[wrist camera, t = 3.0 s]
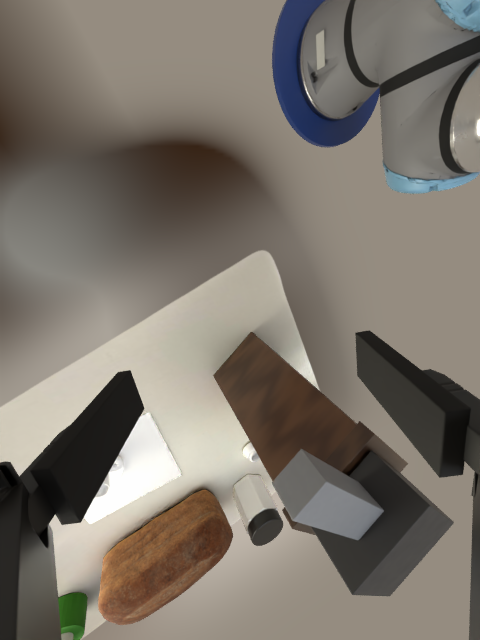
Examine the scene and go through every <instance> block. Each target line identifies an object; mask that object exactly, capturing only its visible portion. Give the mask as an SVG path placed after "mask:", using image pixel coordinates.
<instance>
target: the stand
mask: <svg viewBox="0 0 480 640" xmlns="http://www.w3.org/2000/svg"><path fill="white" fill-rule="evenodd" d="M213 376H214V378H215V380H216V381H217V383H218V385H219V387H220V388H221V390H222V392H223V394H224V396H225V397H226V399H227V401H228V403H229V404H230V406H231V408H232V410H233V412H234V413H235V415H236V417H237V419H238V420H239V422H240V424H241V426H242V427H243V429H244V431H245V433H246V435H247V436H248V438H249V440H250V442H251V443H252V445H253V447H254V449H255V451H256V452H257V454H258V456H259V458H260V459H261V461H262V463H263V465H264V467H265V468H266V470H267V472H268V474H269V475H270V477H271V479H272V481H274V480H275V478H276V477H277V476H278V475H279V474H280V473H281V471H282V470H283V469H284V468H285V467H286V466H287V465H288V463H289V462H290V461H291V460H292V459H293V458H294V457H295V455H296V454H297V453H298V452H299V451H300V450H301V449H303V450H304V451H306V452H308V453H309V454H311V455H313V456H315V457H316V458H318V459H320V460H321V461H323V462H325V463H327V464H328V465H330V466H332V467H334V468H335V469H337V470H339V471H340V472H342V473H344V474H346V475H347V476H350V475H351V473H352V472H353V471H354V470H355V469H356V468H357V467H358V465H359V464H360V463H361V462H362V461H363V460H364V459H365V457H366V456H367V455H368V454H369V453H370V452H371V451H373V452H374V453H375V454H377V455H378V456H379V457H381V458H382V459H383V460H384V461H386V462H387V463H388V464H389V465H391V466H392V467H393V468H395V469H396V470H397V471H398V472H401V471H402V470H403V468H404V467H405V466H406V465H407V464H408V463H407V462H406V461H405V460H404V459H402V458H401V457H400V456H399V455H398V454H397V453H395V452H394V451H393V450H392V449H391V448H390V447H389V446H388V445H386V444H385V443H384V442H383V441H382V440H381V439H380V438H379V437H377V436H376V435H375V434H374V433H373V432H372V431H371V430H369V429H368V428H367V427H366V426H365V425H364V424H362V423H361V422H360V421H359V423H358V424H357V423H355V422H354V421H353V420H352V419H351V418H350V417H348V416H347V415H346V414H345V413H344V412H343V411H342V410H341V409H339V408H338V407H337V406H336V405H335V404H334V403H333V402H332V401H330V400H329V399H328V398H327V397H326V396H325V395H324V394H322V393H321V392H320V391H319V390H318V389H317V388H316V387H315V386H313V385H312V384H311V383H310V382H309V381H308V380H307V379H305V378H304V377H303V376H302V375H301V374H300V373H299V372H298V371H296V370H295V369H294V368H293V367H292V366H291V365H290V364H288V363H287V362H286V361H285V360H284V359H283V358H282V357H280V356H279V355H278V354H277V353H276V352H275V351H274V350H272V349H271V348H270V347H269V346H268V345H267V344H265V343H264V342H263V341H262V340H261V339H260V338H258V337H257V336H256V335H255V334H254V333H253V332H251V333H250V334H249V335H248V336H247V337H246V339H245V340H244V341H243V342H242V343H241V344H240V346H239V347H238V348H237V349H236V350H235V351H234V352H233V354H232V355H231V356H230V357H229V358H228V359H227V360H226V362H225V363H224V364H223V365H222V366H221V367H220V369H219V370H218V371H217V372H216V373H215V374H214V375H213ZM282 511H283V513H284V515H285V516H286V518H287V520H288V522H289V524H290V526H291V527H292V529H295V530H298V531H302V532H306V533H310V534H313V535H316V534H315V532H314V531H313V529H312V528H311V526H309V525H305V524H302V523H299V522H295V521H293V520H292V519H291V517H290V515H289V513H288V511H287V510H286V508H285V507H284V509H283V510H282Z"/></svg>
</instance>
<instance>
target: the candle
mask: <svg viewBox="0 0 480 640" xmlns="http://www.w3.org/2000/svg"><path fill="white" fill-rule="evenodd" d="M87 600H88V597H87V595H86V594H84V593H81V592H76V593H70V594H67V595H64V596H62V597H60V598H58V603H59V615H60V627H61V639H62V640H80V639H81V638H82V636H83V634H84V630H85V620H86V610H87Z"/></svg>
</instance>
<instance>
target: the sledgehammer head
mask: <svg viewBox="0 0 480 640" xmlns="http://www.w3.org/2000/svg"><path fill="white" fill-rule="evenodd" d="M272 484H273V486H274V488H275V490H276V492H277V493H278V495H279V497H280V499H281V500H282V502H283V504H284V506H285V508H286V510H287V511H288V513H289V515H290V517H291V519H292V520H293V521H295V522H299V523H302V524H305V525H309V526H311V528H312V529H313V531H314V532H315V534H316V536H317V537H318V539H319V541H320V542H321V544H322V546H323V547H324V549H325V551H326V552H327V554H328V556H329V557H330V559H331V561H332V562H333V564H334V565H335V567H336V569H337V571H338V572H339V574H340V575H341V577H342V579H343V580H344V582H345V584H346V585H347V587H348V589H349V590H350V592H351V593H352V595H371V596H390V595H391V594H392V593H393V592H394V591H395V590H396V589H397V587H398V586H399V585H400V584H401V583H402V582H403V581H404V579H405V578H406V577H407V576H408V575H409V573H411V571H412V570H413V569H414V568H415V567H416V566H417V565H418V563H419V562H420V561H421V560H422V559H423V557H424V556H425V555H426V554H427V553H428V552H429V551H430V550H431V548H432V547H433V546H434V545H435V544H436V543H437V542H438V540H439V539H440V538H441V537H442V536H443V535H444V533H445V532H446V531H447V530H448V529H449V528H450V527H451V525H452V524H453V521H452V520H451V519H450V518H449V517H448V516H446V515H445V514H444V513H443V512H442V511H441V510H440V509H439V508H437V506H436V505H435V504H433V503H432V502H431V501H430V500H429V499H428V498H427V497H426V496H425V495H423V493H421V492H420V491H419V490H418V489H417V488H416V487H415V486H414V485H413V484H412V483H411V482H410V481H408V480H407V479H406V478H405V477H404V476H403V475H402V474H401V473H400V472H398V471H397V470H396V469H395V468H393V467H392V466H391V465H389V464H388V463H387V462H386V461H384V460H383V459H382V458H381V457H379V456H378V455H377V454H375V453H374V452H373V451H371V452H370V453H369V454H368V455H367V456H366V457H365V459H364V460H363V461H362V462H361V463H360V464H359V465H358V467H357V468H356V469H355V470H354V471H353V472H352V473H351V475H350V476H347V475H346V474H344V473H342V472H340V471H339V470H337V469H335V468H334V467H332V466H330V465H328V464H327V463H325V462H323V461H321V460H320V459H318V458H316V457H315V456H313V455H311V454H309V453H308V452H306V451H304V450H303V449H301V450H300V451H299V452H298V453H297V454H296V455H295V457H294V458H293V459H292V460H291V461H290V462H289V463H288V465H287V466H286V467H285V468H284V469H283V470H282V471H281V473H280V474H279V475H278V476H277V477H276V478H275V480H274V481H273V482H272Z"/></svg>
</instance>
